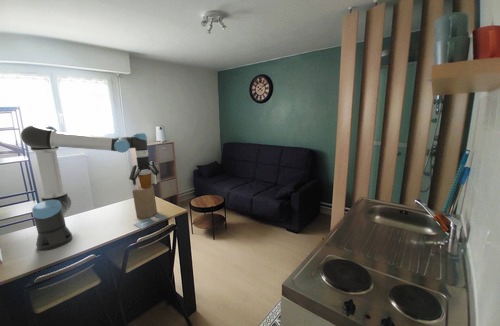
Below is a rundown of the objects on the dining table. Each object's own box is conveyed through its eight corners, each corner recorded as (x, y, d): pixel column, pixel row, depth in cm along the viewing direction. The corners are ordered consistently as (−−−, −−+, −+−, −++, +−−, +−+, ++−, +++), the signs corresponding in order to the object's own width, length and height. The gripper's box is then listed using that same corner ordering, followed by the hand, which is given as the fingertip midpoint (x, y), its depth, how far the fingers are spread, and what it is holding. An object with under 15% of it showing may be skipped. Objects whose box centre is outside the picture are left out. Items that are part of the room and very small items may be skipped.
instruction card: (141, 229, 136) (141, 228, 136) (133, 224, 141) (133, 224, 141) (167, 217, 150) (167, 217, 150) (158, 214, 156) (158, 213, 155)
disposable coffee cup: (154, 187, 150) (151, 170, 147) (138, 190, 146) (136, 172, 143) (153, 184, 158) (151, 168, 156) (139, 186, 154) (136, 169, 152)
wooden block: (150, 217, 150) (146, 189, 146) (136, 218, 150) (132, 190, 146) (157, 211, 160) (153, 185, 156) (143, 211, 160) (139, 185, 156)
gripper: (126, 160, 135) (131, 192, 140) (162, 153, 155) (165, 182, 160) (120, 158, 140) (125, 190, 144) (156, 152, 159) (159, 180, 164)
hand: (146, 186), depth 152 cm, fingers open, 13 cm apart
